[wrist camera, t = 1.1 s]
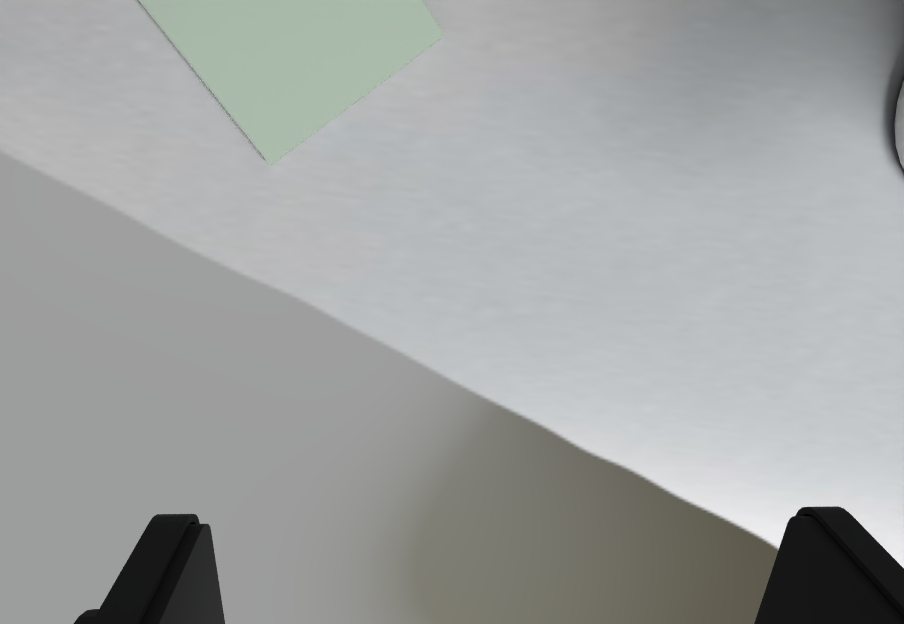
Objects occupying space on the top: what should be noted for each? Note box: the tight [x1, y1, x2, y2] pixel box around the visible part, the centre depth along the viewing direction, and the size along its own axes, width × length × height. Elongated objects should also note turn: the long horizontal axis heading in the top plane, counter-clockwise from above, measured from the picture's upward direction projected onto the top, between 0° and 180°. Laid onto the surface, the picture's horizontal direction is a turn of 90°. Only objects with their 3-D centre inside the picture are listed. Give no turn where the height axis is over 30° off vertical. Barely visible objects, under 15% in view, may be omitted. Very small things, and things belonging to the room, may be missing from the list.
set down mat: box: [139, 0, 445, 165], centre depth 28 cm, size 11×10×1 cm
